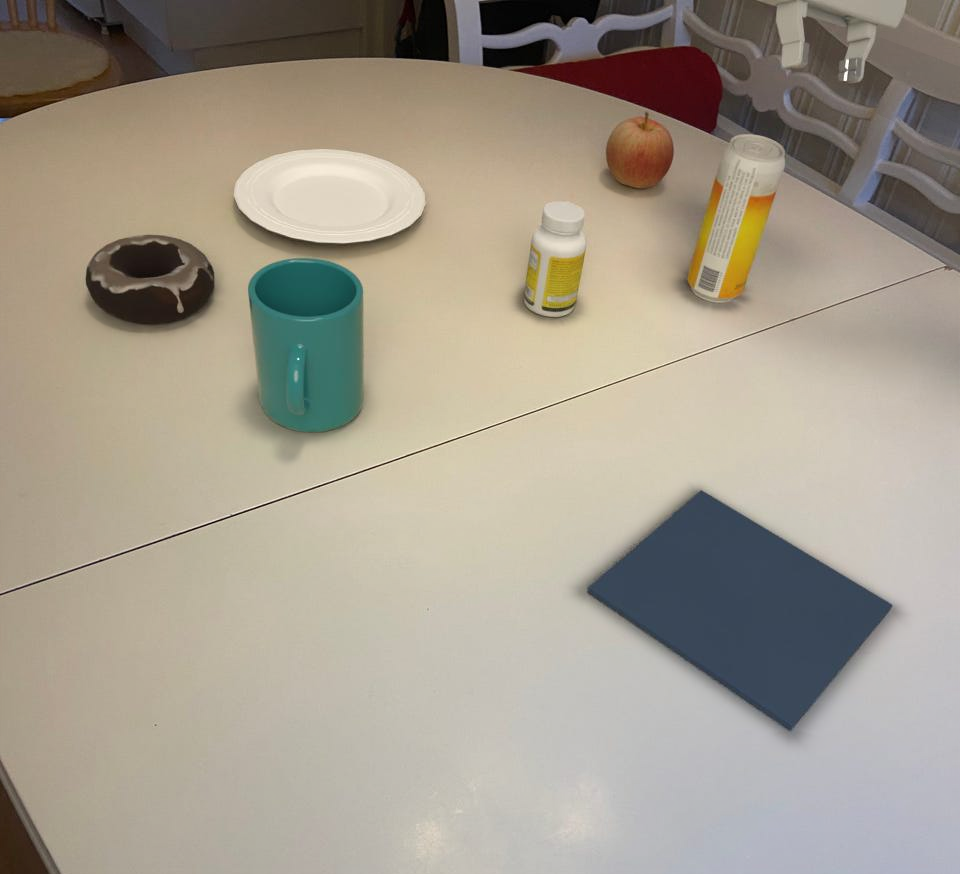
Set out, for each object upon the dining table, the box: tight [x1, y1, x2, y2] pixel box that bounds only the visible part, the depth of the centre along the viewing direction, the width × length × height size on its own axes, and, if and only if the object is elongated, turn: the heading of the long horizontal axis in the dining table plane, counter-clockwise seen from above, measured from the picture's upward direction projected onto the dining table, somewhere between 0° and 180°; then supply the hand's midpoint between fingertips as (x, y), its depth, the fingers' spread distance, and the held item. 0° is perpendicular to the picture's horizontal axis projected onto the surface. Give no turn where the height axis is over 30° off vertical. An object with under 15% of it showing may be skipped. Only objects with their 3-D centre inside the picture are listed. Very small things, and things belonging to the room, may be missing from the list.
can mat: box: [587, 489, 893, 731], centre depth 74 cm, size 18×16×1 cm
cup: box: [247, 257, 365, 433], centre depth 79 cm, size 9×12×11 cm
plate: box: [233, 148, 427, 246], centre depth 106 cm, size 21×21×2 cm
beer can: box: [687, 133, 786, 304], centre depth 97 cm, size 6×6×15 cm
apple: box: [605, 111, 675, 189], centre depth 114 cm, size 8×8×8 cm
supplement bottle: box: [523, 200, 588, 318], centre depth 94 cm, size 5×5×10 cm
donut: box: [85, 234, 215, 325], centre depth 91 cm, size 12×12×4 cm
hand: (822, 75), depth 87 cm, fingers open, 8 cm apart
